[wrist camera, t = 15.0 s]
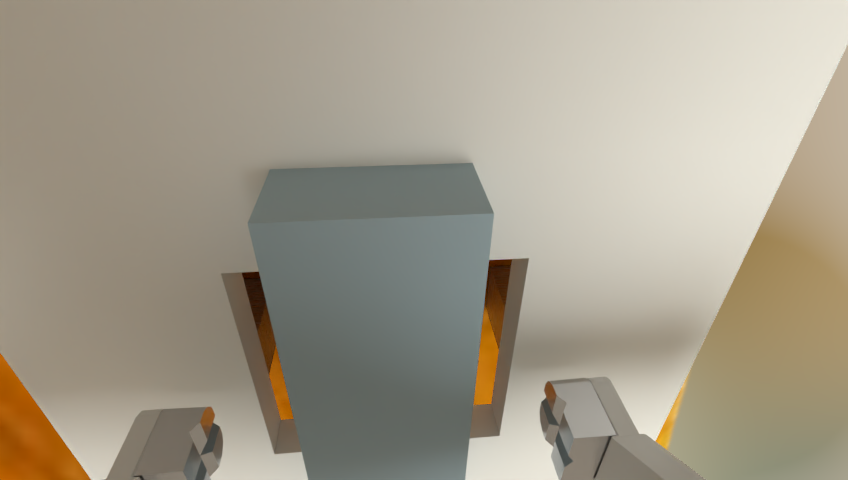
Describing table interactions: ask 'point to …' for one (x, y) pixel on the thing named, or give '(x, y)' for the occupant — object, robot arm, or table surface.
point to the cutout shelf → (384, 146)
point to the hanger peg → (377, 312)
